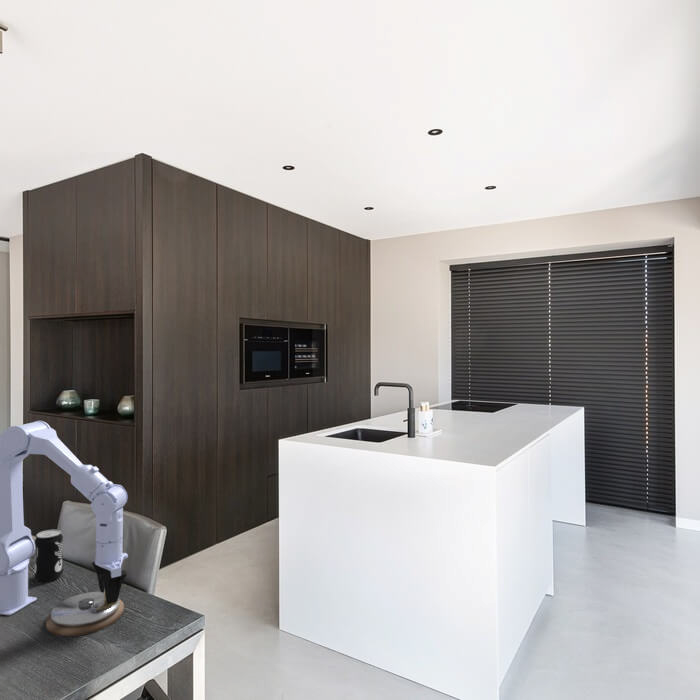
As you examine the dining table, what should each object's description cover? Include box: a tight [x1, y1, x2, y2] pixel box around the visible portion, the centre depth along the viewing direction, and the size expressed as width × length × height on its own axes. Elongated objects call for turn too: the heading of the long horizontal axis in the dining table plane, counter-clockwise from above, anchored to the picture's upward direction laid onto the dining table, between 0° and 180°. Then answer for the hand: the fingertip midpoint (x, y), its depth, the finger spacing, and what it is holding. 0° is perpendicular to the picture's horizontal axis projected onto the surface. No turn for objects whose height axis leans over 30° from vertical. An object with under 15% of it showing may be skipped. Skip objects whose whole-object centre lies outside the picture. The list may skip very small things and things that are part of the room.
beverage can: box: [33, 529, 64, 583], centre depth 140 cm, size 7×7×12 cm
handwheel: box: [50, 589, 120, 627], centre depth 120 cm, size 14×14×6 cm
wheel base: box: [45, 598, 125, 637], centre depth 121 cm, size 16×18×4 cm
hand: (108, 596), depth 122 cm, fingers open, 6 cm apart
